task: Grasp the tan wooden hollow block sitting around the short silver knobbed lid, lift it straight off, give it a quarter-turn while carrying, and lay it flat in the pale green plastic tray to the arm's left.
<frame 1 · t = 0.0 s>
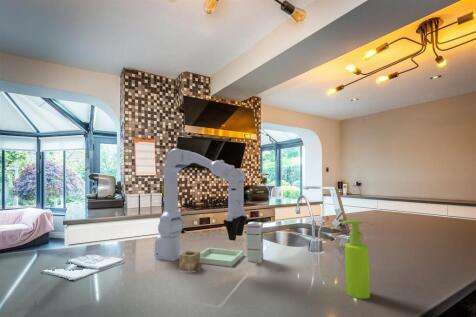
hand: (235, 237, 93), 10 cm above the counter, fingers open, 7 cm apart
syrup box: (255, 261, 98), on the counter
tan wooden hollow block: (189, 268, 88), point 1 cm above the counter, touching silver knobbed lid
bicycle print towel: (83, 269, 91), on the counter
tray: (219, 260, 98), on the counter
silver knobbed lid: (189, 269, 88), on the counter
soap dispenser: (356, 294, 70), on the counter
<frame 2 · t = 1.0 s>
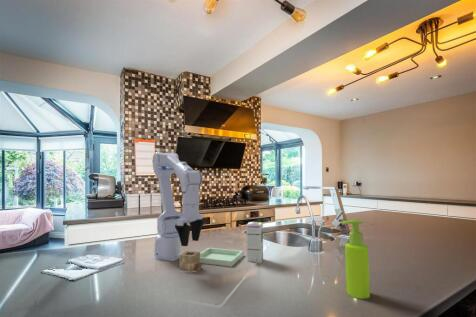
hand: (190, 243, 89), 9 cm above the counter, fingers open, 7 cm apart
nothing on the counter moved.
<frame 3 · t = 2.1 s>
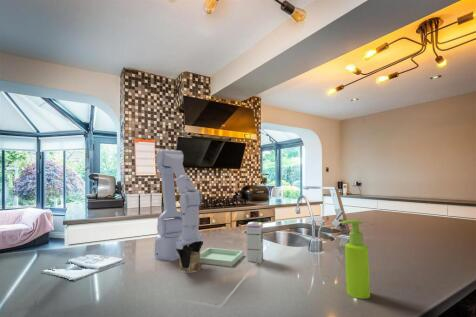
hand: (189, 264, 88), 2 cm above the counter, fingers closed on tan wooden hollow block, 5 cm apart
tan wooden hollow block: (189, 268, 88), point 1 cm above the counter, touching gripper, silver knobbed lid
everything else where it was.
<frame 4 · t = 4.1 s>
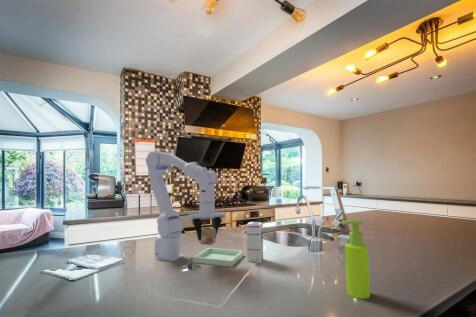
hand: (206, 238, 94), 9 cm above the counter, fingers closed on tan wooden hollow block, 5 cm apart
tan wooden hollow block: (206, 242, 94), point 8 cm above the counter, touching gripper
everything else where it was.
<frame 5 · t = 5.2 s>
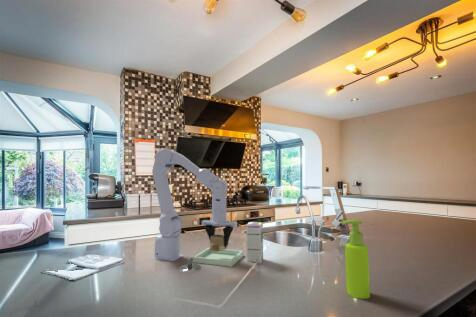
hand: (219, 245, 99), 6 cm above the counter, fingers closed on tan wooden hollow block, 5 cm apart
tan wooden hollow block: (219, 248, 99), point 4 cm above the counter, touching gripper
everything else where it was.
when the fingers open (4 cm above the counter, at t = 6.1 s): tan wooden hollow block drops 2 cm, resting on tray.
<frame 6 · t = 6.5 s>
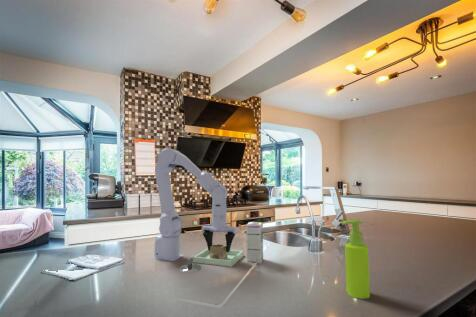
hand: (219, 250, 99), 4 cm above the counter, fingers open, 7 cm apart
tan wooden hollow block: (218, 258, 98), point 1 cm above the counter, touching tray
everything else where it was.
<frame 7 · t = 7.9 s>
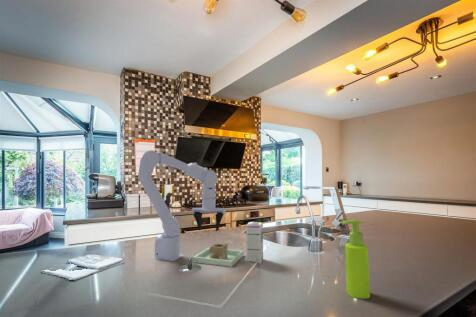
hand: (208, 230, 107), 10 cm above the counter, fingers open, 7 cm apart
nothing on the counter moved.
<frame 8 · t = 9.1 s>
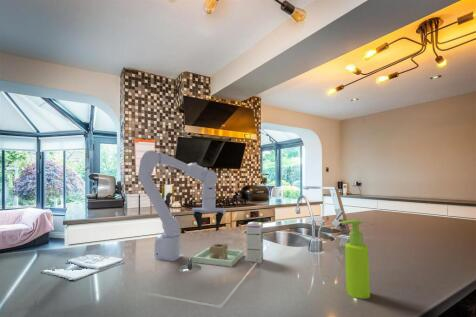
hand: (208, 230, 107), 10 cm above the counter, fingers open, 7 cm apart
nothing on the counter moved.
at the end: tan wooden hollow block inside the target area on the tray (0.1 cm from its centre), point 0.6 cm above the tray's base; tan wooden hollow block tilted 0°; the gripper is holding nothing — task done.
